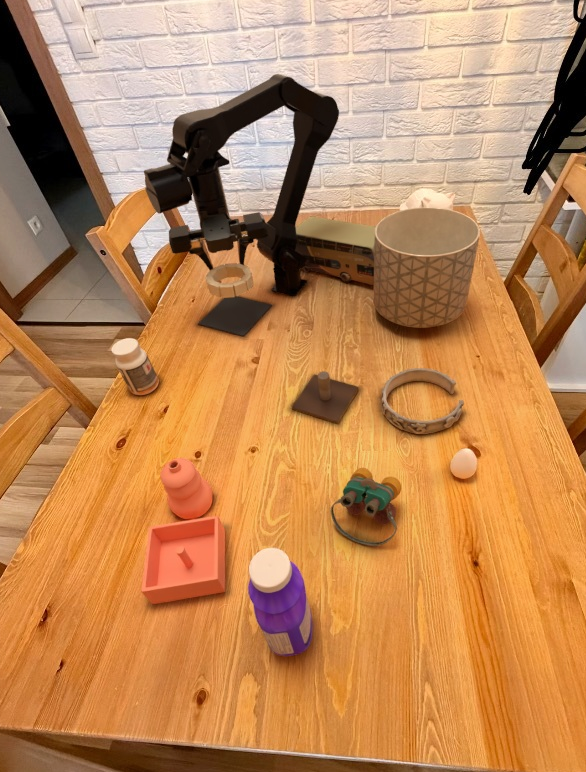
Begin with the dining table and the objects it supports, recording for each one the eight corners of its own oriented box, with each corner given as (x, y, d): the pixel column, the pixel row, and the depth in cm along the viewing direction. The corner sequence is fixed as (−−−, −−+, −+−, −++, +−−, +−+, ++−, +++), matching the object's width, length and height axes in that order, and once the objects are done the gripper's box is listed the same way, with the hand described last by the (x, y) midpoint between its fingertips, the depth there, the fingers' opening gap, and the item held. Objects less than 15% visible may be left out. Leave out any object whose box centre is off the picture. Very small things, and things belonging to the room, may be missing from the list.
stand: (314, 377, 87) (312, 352, 82) (358, 389, 84) (358, 365, 79) (292, 409, 82) (287, 385, 77) (338, 424, 78) (336, 399, 74)
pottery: (225, 591, 60) (206, 558, 53) (152, 604, 60) (123, 572, 53) (224, 479, 72) (209, 440, 65) (164, 489, 72) (142, 450, 65)
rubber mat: (228, 295, 108) (228, 294, 108) (272, 305, 104) (272, 304, 103) (198, 324, 101) (197, 323, 101) (243, 337, 97) (243, 335, 96)
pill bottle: (163, 376, 90) (145, 335, 83) (153, 397, 86) (134, 356, 79) (136, 375, 91) (116, 335, 84) (125, 396, 87) (103, 356, 80)
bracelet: (404, 369, 86) (405, 356, 84) (474, 395, 81) (477, 383, 78) (366, 415, 79) (366, 403, 77) (439, 448, 73) (442, 436, 71)
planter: (361, 330, 95) (360, 248, 82) (387, 281, 107) (390, 202, 93) (454, 347, 90) (469, 262, 76) (471, 294, 101) (487, 212, 88)
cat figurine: (388, 230, 123) (391, 163, 111) (427, 225, 124) (434, 158, 111) (414, 280, 106) (421, 207, 94) (458, 273, 107) (471, 201, 94)
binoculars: (397, 539, 66) (413, 476, 63) (381, 572, 58) (397, 502, 55) (337, 517, 69) (349, 456, 66) (313, 546, 61) (326, 478, 58)
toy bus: (377, 291, 104) (376, 249, 97) (293, 272, 114) (287, 233, 107) (397, 270, 109) (397, 228, 102) (315, 253, 119) (310, 215, 112)
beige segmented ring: (228, 269, 98) (226, 259, 96) (262, 281, 94) (260, 270, 93) (198, 289, 93) (196, 278, 91) (233, 302, 89) (230, 292, 88)
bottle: (267, 600, 59) (240, 536, 46) (311, 595, 59) (296, 530, 46) (267, 662, 54) (238, 609, 41) (315, 657, 54) (300, 602, 41)
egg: (472, 485, 68) (479, 463, 64) (447, 478, 70) (452, 456, 66) (476, 465, 71) (482, 443, 67) (451, 459, 72) (456, 437, 68)
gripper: (158, 223, 78) (184, 301, 90) (265, 204, 80) (278, 283, 92) (158, 197, 86) (183, 272, 97) (256, 180, 88) (269, 256, 99)
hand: (228, 271), depth 96 cm, fingers closed on beige segmented ring, 5 cm apart
